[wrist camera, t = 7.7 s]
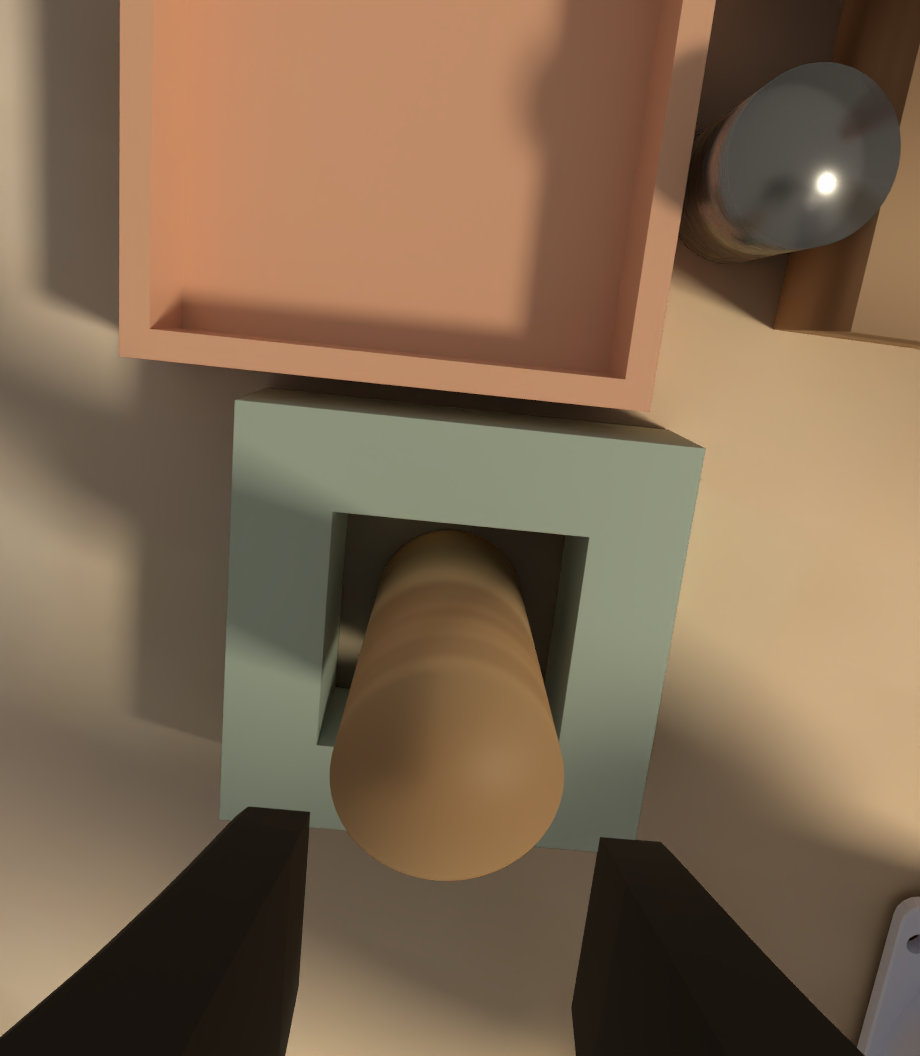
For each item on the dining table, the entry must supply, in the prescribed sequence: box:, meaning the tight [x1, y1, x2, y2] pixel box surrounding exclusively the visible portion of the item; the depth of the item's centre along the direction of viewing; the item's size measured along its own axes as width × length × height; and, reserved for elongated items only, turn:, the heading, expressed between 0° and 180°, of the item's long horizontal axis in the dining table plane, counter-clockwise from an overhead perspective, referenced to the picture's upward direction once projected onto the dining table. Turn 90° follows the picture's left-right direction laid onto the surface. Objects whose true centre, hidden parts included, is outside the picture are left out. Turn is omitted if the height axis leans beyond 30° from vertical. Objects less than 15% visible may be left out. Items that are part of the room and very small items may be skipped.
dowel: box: [330, 530, 564, 881], centre depth 14 cm, size 3×3×7 cm
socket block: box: [219, 388, 705, 852], centre depth 16 cm, size 8×8×2 cm
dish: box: [119, 0, 716, 412], centre depth 14 cm, size 9×9×2 cm
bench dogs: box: [678, 62, 901, 263], centre depth 13 cm, size 8×2×4 cm, turn 174°
